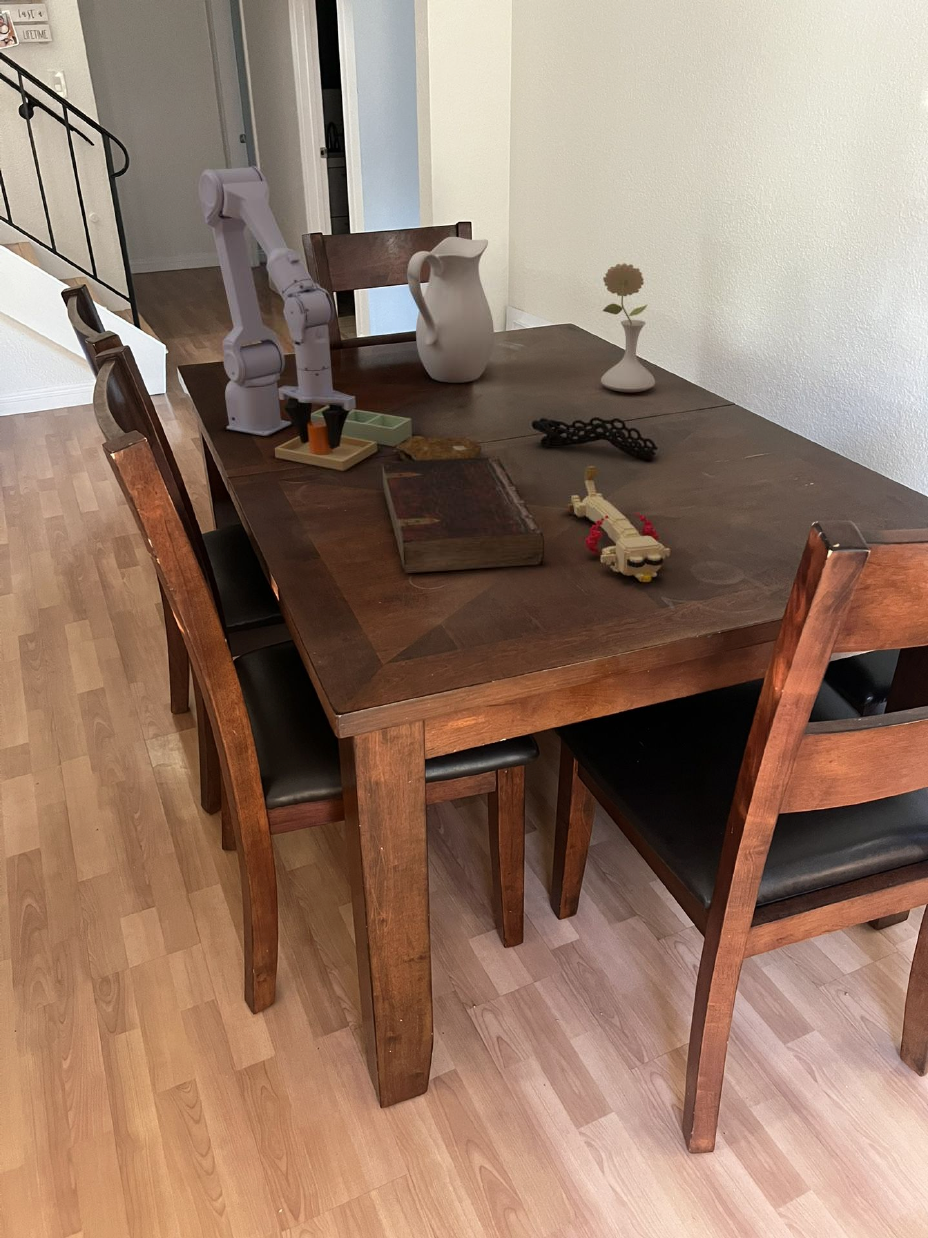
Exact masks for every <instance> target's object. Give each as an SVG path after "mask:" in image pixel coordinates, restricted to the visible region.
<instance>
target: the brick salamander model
mask: <svg viewBox="0 0 928 1238" xmlns="http://www.w3.org/2000/svg"><path fill="white" fill-rule="evenodd" d="M583 477H584V483H585V489H586V491H587V494H588V495H586V497H584V498H583V500H582V501H581V499H580V496H579V495H576V494H575V495H571V496H570V497H571V498H570V499H571V501H570V503H567V505H566V510H567V511H568V512H570V514H571V515H573V516H577V517H578V518H584V517H586V518H587V519H589V521H591V522H593V523H595V524H592V526H591V527H589V535H587V537H586V538H585V539H584V540H585V541H584V545H585V546H586V547H587V549H588V551H589V552H592V553H594V555H596V556H599V557H600V563H601V564H605V565H606V566H607V565H608V566H609V565H610V566H609V568H610V569H611V570H612V571H613V572H616V573H622V574H623V575H624V576H627V577H630V576H634V577H635V578H636V579H637V580H638V581H639V582H642V583H648V582H651V581H652V578H655V577H658V573H657V572H658V571H659V570H660V569H661V567H662V564H663V563H664V559H666V558H667V557H670V555H671V549H670V548H669V547H667V548H666V547H665V546H664V545H663V544H662V543H661V542H659V537H660V536H659V534H657V530H656V529H654V528H653V525H652V524H653V523H652V522H651V520H650V519H647V516H645V515H643V514H639V513H638V512H634V516H635V517H638V518H640V522H644V526H642V527H641V534H642V535H641V534H640V533H639V530H638V529H637V528H636V527H635V526H634V525H632V524H631V521H630V520H629V518H627V517H626V516H625V515H624V514H623V513H622V512H620V510H618V509H617V508H616V507H615V506H614V505H613V504H611V503H610V502H609V501H608V500H606V499H604V497H603V494H602V493H600V492H599V493H597V490H596V485H595V481H594V479H595V478H596V477H597V469H596V466H595V465H587V467H586V468H585V471H584V476H583ZM599 527H601V528H602V529H603V530H604V532H606V533H607V536H608V538H610V539H611V540H612V542H613V543H615V545H612V546H607V547H603V548H602V549H601V553H599V548H598V547H597V546H598V541H599V540H601V539H602V538H603V534H602V530H598V529H599ZM612 563H614V565H612Z"/></svg>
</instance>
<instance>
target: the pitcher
mask: <svg viewBox="0 0 928 1238" xmlns="http://www.w3.org/2000/svg"><path fill="white" fill-rule="evenodd" d="M488 245H489V240H488V239H469V238H464V237H459V236H448V237H446V238H444V239H443V240H441V242H439V243H438V244H437V245H436V246H435V247H434V248H433V249H432V250H431V251H428V250H427V251H426V250H421V251H417V252H416V253H414V254H413V255H412V256H411V258H410V260H409V261H408V265H407V271H406V273H407V275H406V276H407V283H408V288H409V292H410V294H411V297H412V298H413V300H414V303H415V304H416V307H417V308H418V314H417V319H416V327H415V328H416V329H415V338H416V339H415V340H416V347H417V352H418V356H419V359H420V361H421V363H422V365H423V367H424V369H425V371H426V372H427V373H428V375H429V377H431V379H433V380H434V381H435V380H436V381H438V382H440V383H441V382H442V383H448V384H449V383H452V384H457V383H458V384H460V383H462V384H463V383H469V382H473V381H475V380H478V379H479V378H481V376H482V375H483V373H484V371H485V370H486V368H487V365H488V363H489V362H490V359H491V356H492V353H493V348H494V341H495V340H494V339H495V329H494V328H495V327H494V320H493V315H492V310H491V308H490V305H489V302H488V300H487V296H486V294H485V291H484V287H483V285H482V281H481V276H480V269H479V268H480V261H481V257H482V256H483V254H484V252H485V251H486V249H487V247H488ZM425 261H426V262H428V264H429V267H430V272H429V273H430V274H429V279H428V283H427V286H426V289H425V292H424V293H423V291H422V286H421V270H422V265H423V263H424V262H425ZM423 294H424V295H423Z"/></svg>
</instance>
